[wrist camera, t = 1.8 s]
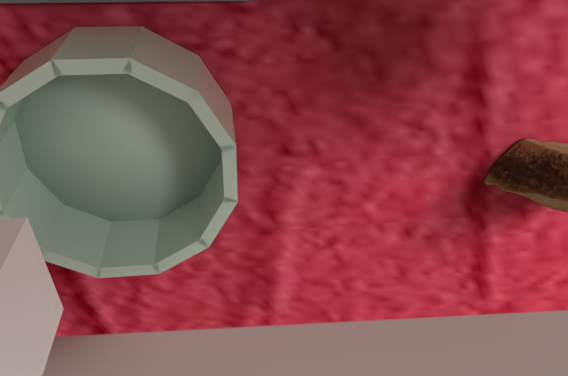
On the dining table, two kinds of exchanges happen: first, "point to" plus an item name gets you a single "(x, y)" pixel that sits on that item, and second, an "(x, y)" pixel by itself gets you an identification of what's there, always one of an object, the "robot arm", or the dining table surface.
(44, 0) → the mat
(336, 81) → the dining table surface
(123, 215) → the bowl
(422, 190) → the dining table surface
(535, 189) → the rock
